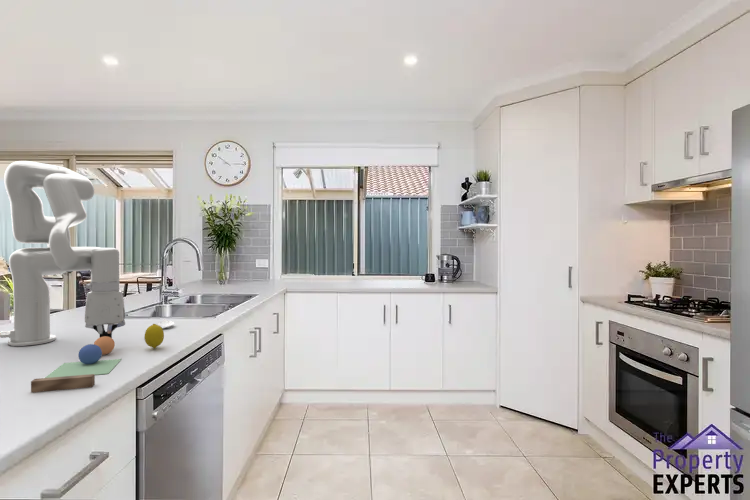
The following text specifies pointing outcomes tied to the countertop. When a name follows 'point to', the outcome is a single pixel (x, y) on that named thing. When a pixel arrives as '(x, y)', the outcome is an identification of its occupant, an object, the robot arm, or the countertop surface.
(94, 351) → the navy ball
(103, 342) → the orange ball
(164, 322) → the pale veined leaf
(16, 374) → the countertop surface
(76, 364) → the green mark
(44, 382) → the rail
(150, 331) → the lemon
